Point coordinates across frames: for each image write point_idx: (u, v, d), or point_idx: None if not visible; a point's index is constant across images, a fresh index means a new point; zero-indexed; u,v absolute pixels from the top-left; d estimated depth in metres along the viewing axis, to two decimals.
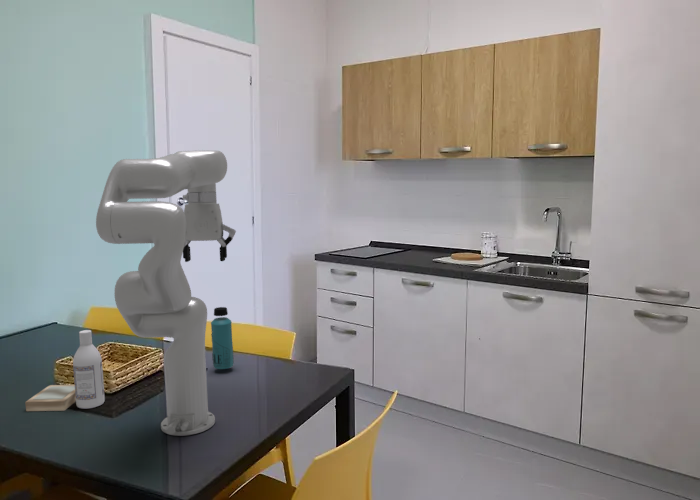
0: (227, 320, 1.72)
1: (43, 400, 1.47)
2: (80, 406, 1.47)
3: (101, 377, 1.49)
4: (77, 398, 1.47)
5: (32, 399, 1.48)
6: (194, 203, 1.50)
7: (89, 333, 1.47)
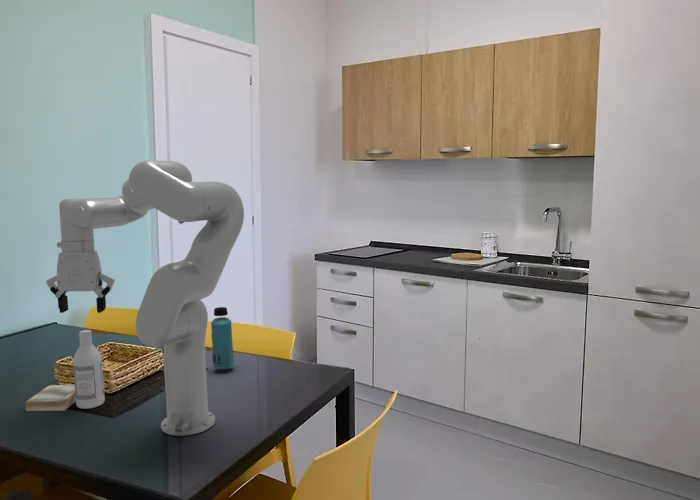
0: (227, 320, 1.72)
1: (43, 400, 1.47)
2: (80, 406, 1.47)
3: (101, 377, 1.49)
4: (77, 398, 1.47)
5: (32, 399, 1.48)
6: (67, 252, 1.42)
7: (89, 333, 1.47)
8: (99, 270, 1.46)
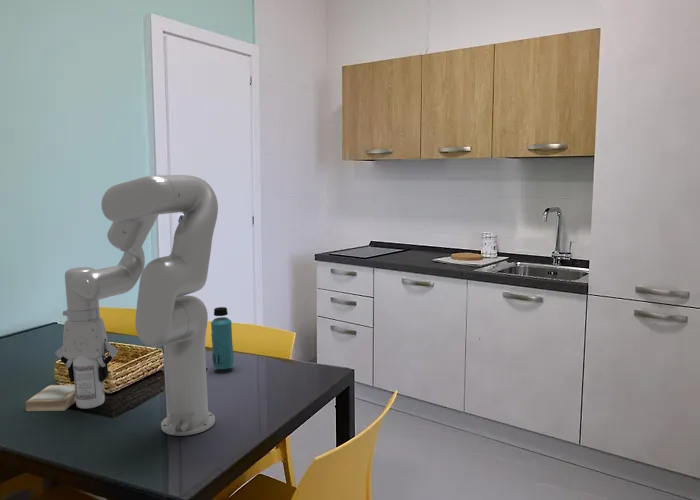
0: (227, 320, 1.72)
1: (43, 400, 1.47)
2: (80, 406, 1.47)
3: None
4: (77, 398, 1.47)
5: (32, 399, 1.48)
6: (73, 322, 1.44)
7: None
8: (104, 337, 1.48)
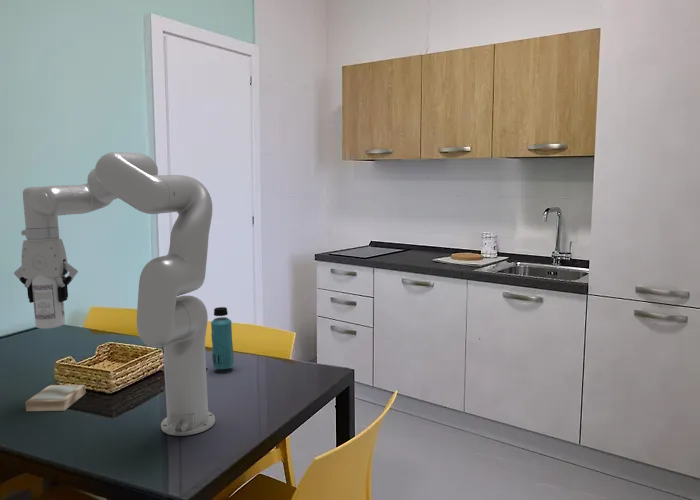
0: (227, 320, 1.72)
1: (43, 400, 1.47)
2: (39, 326, 1.46)
3: None
4: (36, 318, 1.46)
5: (32, 399, 1.48)
6: (30, 240, 1.43)
7: None
8: (64, 257, 1.47)
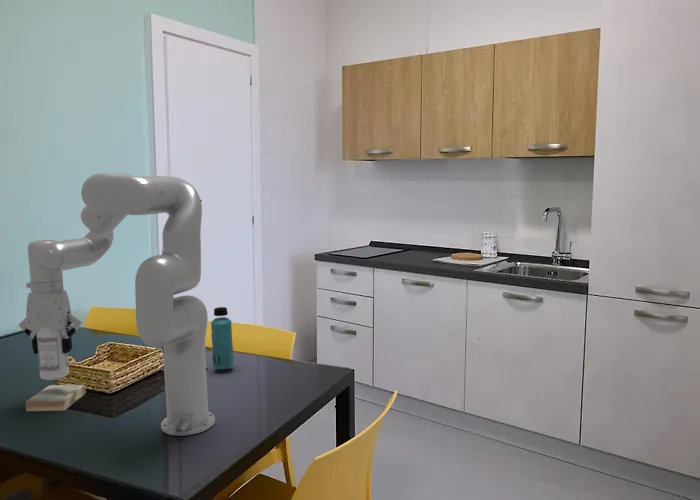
0: (227, 320, 1.72)
1: (43, 400, 1.47)
2: (43, 377, 1.48)
3: None
4: (40, 369, 1.48)
5: (32, 399, 1.48)
6: (35, 293, 1.45)
7: None
8: (68, 309, 1.49)
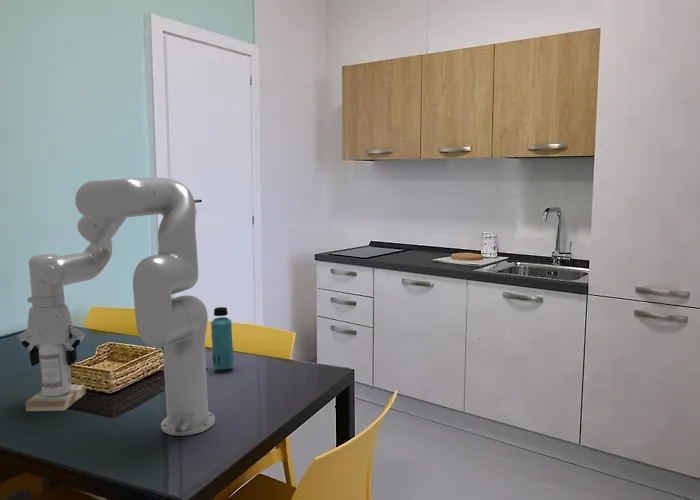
0: (227, 320, 1.72)
1: (43, 400, 1.47)
2: (46, 394, 1.49)
3: (67, 365, 1.51)
4: (43, 386, 1.49)
5: (32, 399, 1.48)
6: (37, 308, 1.45)
7: None
8: (69, 323, 1.50)
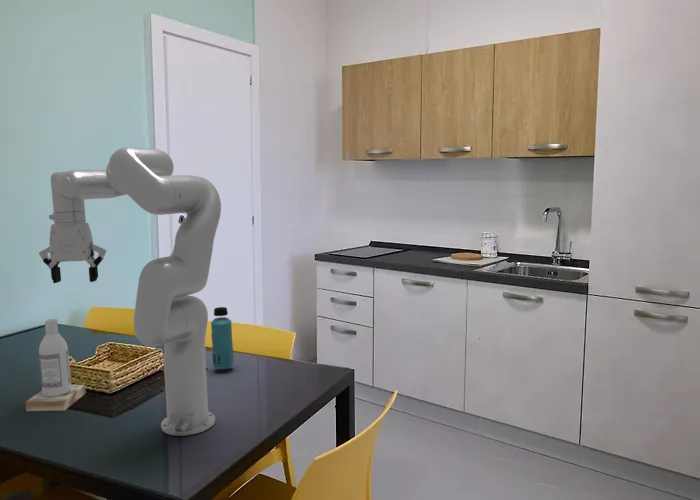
0: (227, 320, 1.72)
1: (43, 400, 1.47)
2: (46, 394, 1.49)
3: (67, 365, 1.51)
4: (43, 386, 1.49)
5: (32, 399, 1.48)
6: (59, 223, 1.46)
7: (55, 322, 1.49)
8: (91, 241, 1.51)
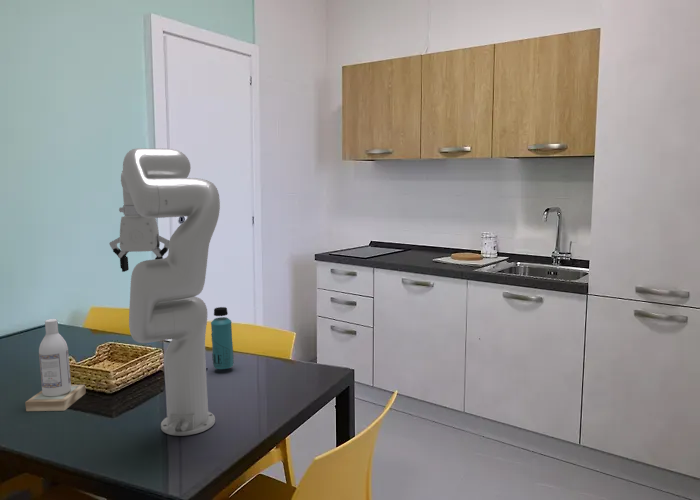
0: (227, 320, 1.72)
1: (43, 400, 1.47)
2: (46, 394, 1.49)
3: (67, 365, 1.51)
4: (43, 386, 1.49)
5: (32, 399, 1.48)
6: (129, 216, 1.56)
7: (55, 322, 1.49)
8: (157, 232, 1.61)
